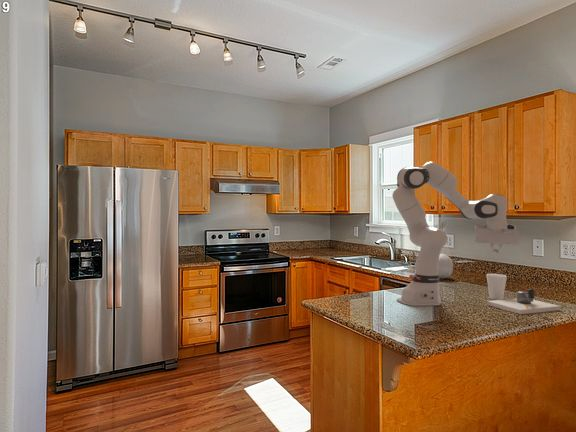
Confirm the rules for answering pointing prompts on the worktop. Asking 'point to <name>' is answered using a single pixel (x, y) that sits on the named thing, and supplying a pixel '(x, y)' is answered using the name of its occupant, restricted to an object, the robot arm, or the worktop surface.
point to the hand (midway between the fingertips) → (495, 252)
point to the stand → (523, 306)
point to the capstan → (525, 296)
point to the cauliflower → (444, 266)
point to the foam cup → (496, 286)
